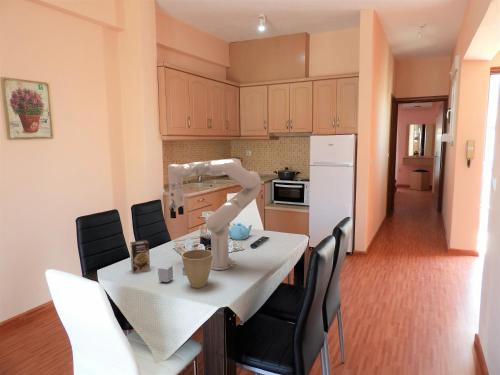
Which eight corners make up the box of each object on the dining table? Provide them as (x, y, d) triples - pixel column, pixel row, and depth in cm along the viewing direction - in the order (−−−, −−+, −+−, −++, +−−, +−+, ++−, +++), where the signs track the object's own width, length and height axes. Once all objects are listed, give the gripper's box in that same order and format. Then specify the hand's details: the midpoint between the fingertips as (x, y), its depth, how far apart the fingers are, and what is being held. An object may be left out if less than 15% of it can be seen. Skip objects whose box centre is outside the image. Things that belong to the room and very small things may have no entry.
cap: (173, 277, 186) (172, 265, 185) (168, 281, 181) (167, 269, 180) (163, 277, 187) (163, 264, 186) (158, 281, 182) (158, 268, 181)
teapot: (224, 239, 257) (224, 224, 255) (233, 234, 270) (233, 220, 269) (244, 241, 251) (243, 226, 249) (252, 236, 264) (252, 221, 263)
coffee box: (133, 274, 195) (131, 244, 193) (131, 270, 200) (129, 241, 198) (150, 270, 199) (149, 242, 197) (148, 267, 205) (146, 239, 202)
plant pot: (177, 288, 175) (175, 256, 172) (193, 277, 188) (192, 247, 186) (203, 293, 169) (202, 260, 166) (219, 281, 182) (218, 251, 180)
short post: (189, 273, 194) (189, 266, 193) (187, 275, 191) (187, 268, 191) (185, 273, 194) (184, 266, 194) (183, 274, 192) (182, 267, 191)
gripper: (175, 188, 192) (176, 220, 194) (188, 184, 209) (189, 213, 211) (162, 188, 194) (163, 219, 196) (176, 184, 210) (177, 212, 213)
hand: (177, 216), depth 204 cm, fingers open, 9 cm apart
